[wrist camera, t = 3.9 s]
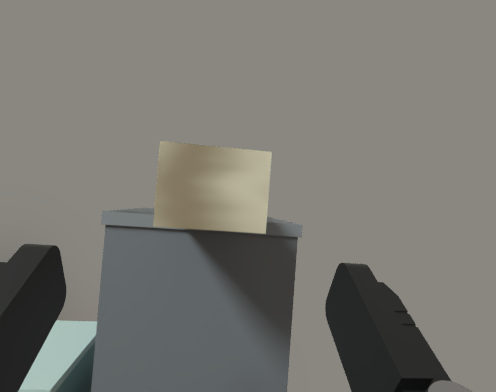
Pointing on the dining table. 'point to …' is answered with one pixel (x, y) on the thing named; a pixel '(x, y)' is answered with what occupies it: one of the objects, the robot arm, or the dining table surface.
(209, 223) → the beige stepped bar
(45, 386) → the tall pale green pillar
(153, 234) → the stand
